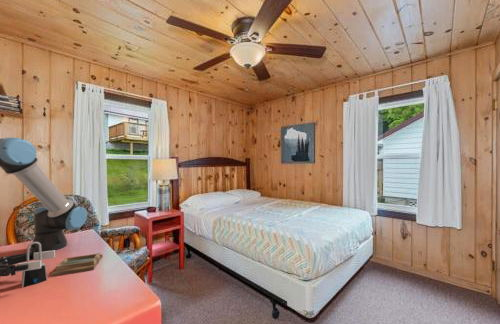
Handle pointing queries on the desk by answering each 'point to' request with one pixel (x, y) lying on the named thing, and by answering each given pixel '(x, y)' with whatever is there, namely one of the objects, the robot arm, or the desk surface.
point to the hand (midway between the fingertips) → (48, 258)
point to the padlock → (34, 271)
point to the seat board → (77, 264)
